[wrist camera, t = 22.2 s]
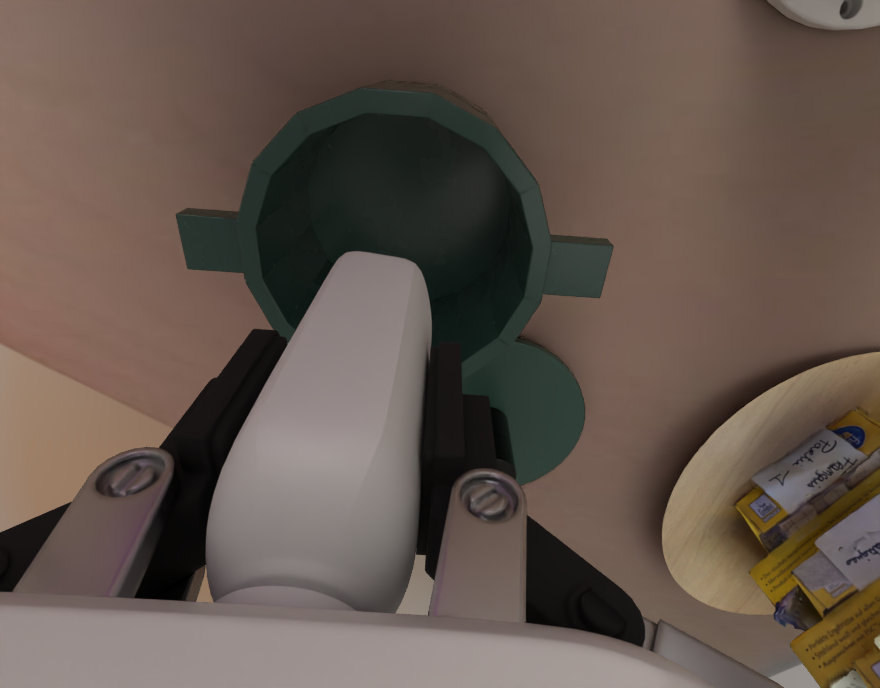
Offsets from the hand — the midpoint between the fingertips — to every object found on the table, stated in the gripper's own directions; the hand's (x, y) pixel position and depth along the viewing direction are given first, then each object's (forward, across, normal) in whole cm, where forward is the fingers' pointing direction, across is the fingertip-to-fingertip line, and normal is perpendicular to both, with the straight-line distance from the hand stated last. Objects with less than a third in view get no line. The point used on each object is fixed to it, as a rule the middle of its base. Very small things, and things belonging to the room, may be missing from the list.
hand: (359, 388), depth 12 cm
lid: (+17, -6, +14) cm, 23 cm away
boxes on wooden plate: (+17, -32, +19) cm, 41 cm away
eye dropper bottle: (+3, 0, 0) cm, 3 cm away
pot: (+17, 0, 0) cm, 17 cm away
